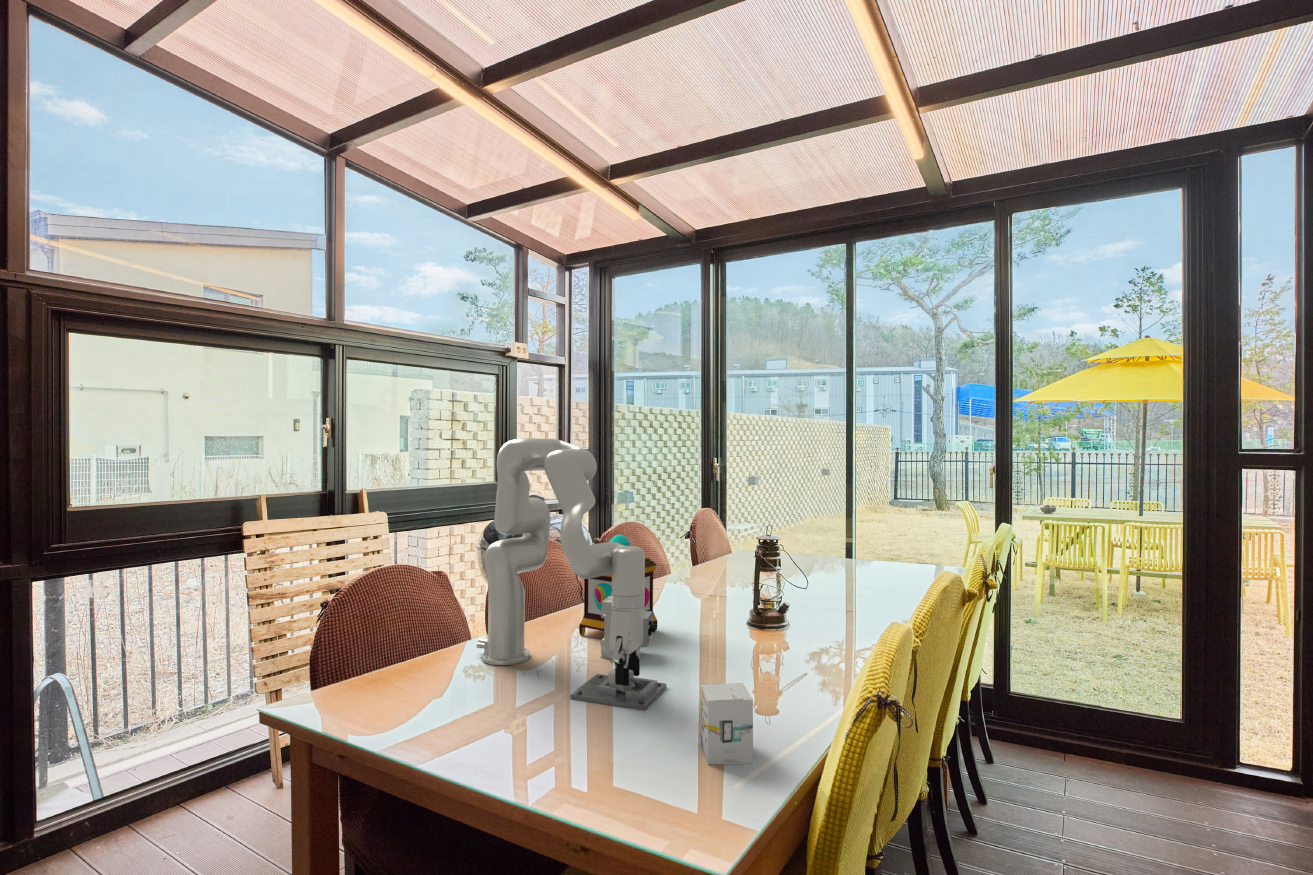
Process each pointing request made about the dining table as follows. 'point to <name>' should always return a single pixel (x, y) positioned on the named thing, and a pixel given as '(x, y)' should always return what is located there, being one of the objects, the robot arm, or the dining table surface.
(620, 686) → the usb wall charger
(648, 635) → the circuit breaker
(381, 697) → the dining table surface
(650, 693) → the plate
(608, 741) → the dining table surface
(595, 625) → the decorative lantern
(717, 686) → the ink box
